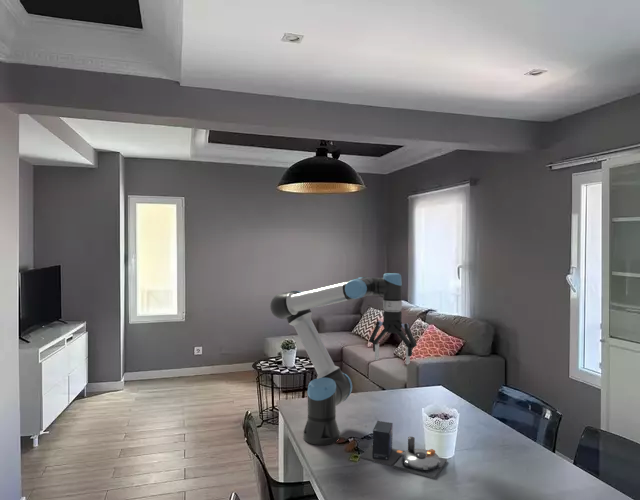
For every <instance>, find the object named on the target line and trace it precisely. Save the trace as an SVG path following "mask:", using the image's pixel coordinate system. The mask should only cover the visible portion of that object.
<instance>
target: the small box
mask: <svg viewBox="0 0 640 500" xmlns="http://www.w3.org/2000/svg"><path fill="white" fill-rule="evenodd" d="M393 429H394V428H393V422H388V421H381V420H377V421H376V423H375V426H374V427H373V428H372V445H373V450H372V458H377V459H383V460H388V459H389V456H390V454H391V451H392V448H393Z"/></svg>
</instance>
